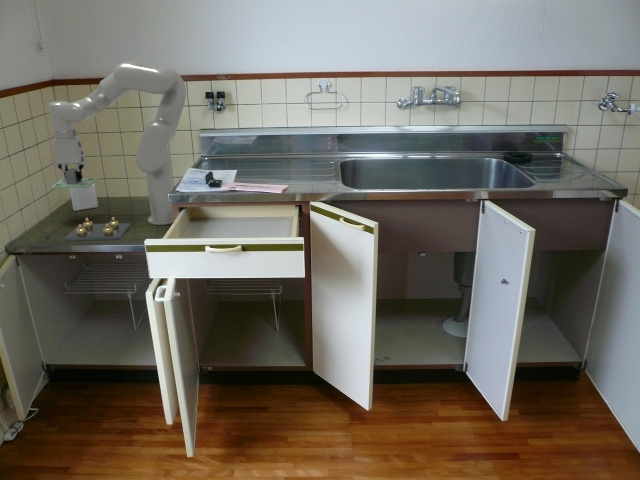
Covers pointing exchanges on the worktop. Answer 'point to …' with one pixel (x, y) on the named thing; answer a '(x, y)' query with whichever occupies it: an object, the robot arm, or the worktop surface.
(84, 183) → the board
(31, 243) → the worktop surface
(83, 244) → the worktop surface
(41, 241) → the worktop surface
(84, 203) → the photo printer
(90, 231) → the plate
